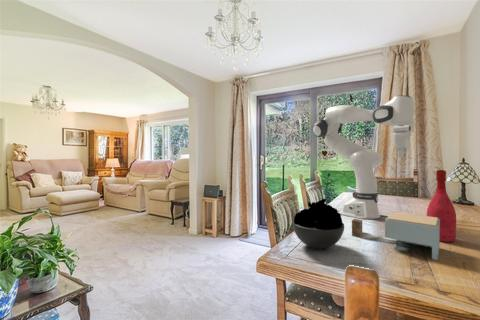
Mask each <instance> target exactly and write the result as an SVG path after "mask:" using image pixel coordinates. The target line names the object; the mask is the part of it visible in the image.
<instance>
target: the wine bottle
mask: <svg viewBox="0 0 480 320" xmlns="http://www.w3.org/2000/svg"><path fill="white" fill-rule="evenodd" d="M435 172H436V176H435V177H436V179H435V180H436V181H437V182H436V183H437V184H436V190H435V192H434V195H433V197H432V198H431V200H430V202H429V204H428V206H427V209H426V216H429V217H437V218H438V219H440V231H439V242H443V243H453V242H455V241H456V237H457V212H456V210H455V207H454V204H453V203H452V201H451V199H450V197H449V195H448V192H447V187H446V186H447V185H446V181H447V171H446V170H445V169H437V170H436V171H435Z"/></svg>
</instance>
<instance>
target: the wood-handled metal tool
mask: <svg viewBox="0 0 480 320" xmlns="http://www.w3.org/2000/svg"><path fill="white" fill-rule="evenodd" d="M351 236H352V237H358V238H363V239H368V240H372V241H379V242H383V243H388V244H392V245H394V243H399V241H398V240H396V239H391V238H386V237H385V235H380V234H374V233H370V232H368V233H367V232H363V219H359V218H357V219H356V218H353V219H351Z"/></svg>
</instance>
